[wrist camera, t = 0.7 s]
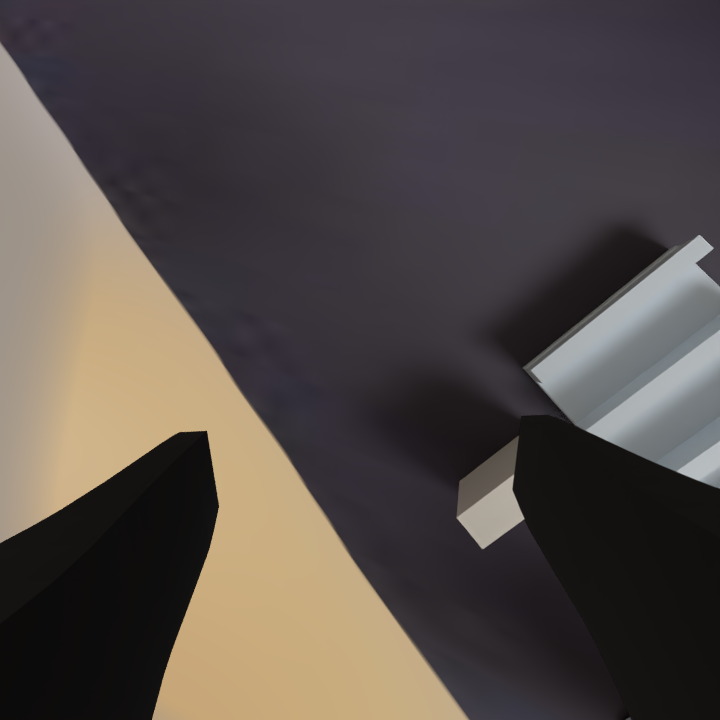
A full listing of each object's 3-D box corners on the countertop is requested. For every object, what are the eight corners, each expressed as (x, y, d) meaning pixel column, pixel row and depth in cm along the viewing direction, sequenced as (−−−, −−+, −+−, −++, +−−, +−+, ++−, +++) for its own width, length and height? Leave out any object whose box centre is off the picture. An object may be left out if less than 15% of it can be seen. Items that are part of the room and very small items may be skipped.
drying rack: (861, 437, 25) (925, 449, 21) (688, 550, 27) (720, 579, 23) (669, 249, 27) (698, 233, 23) (522, 367, 29) (529, 369, 25)
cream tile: (553, 449, 28) (579, 478, 22) (479, 505, 29) (482, 549, 23) (531, 425, 29) (550, 446, 22) (459, 481, 30) (456, 517, 23)
